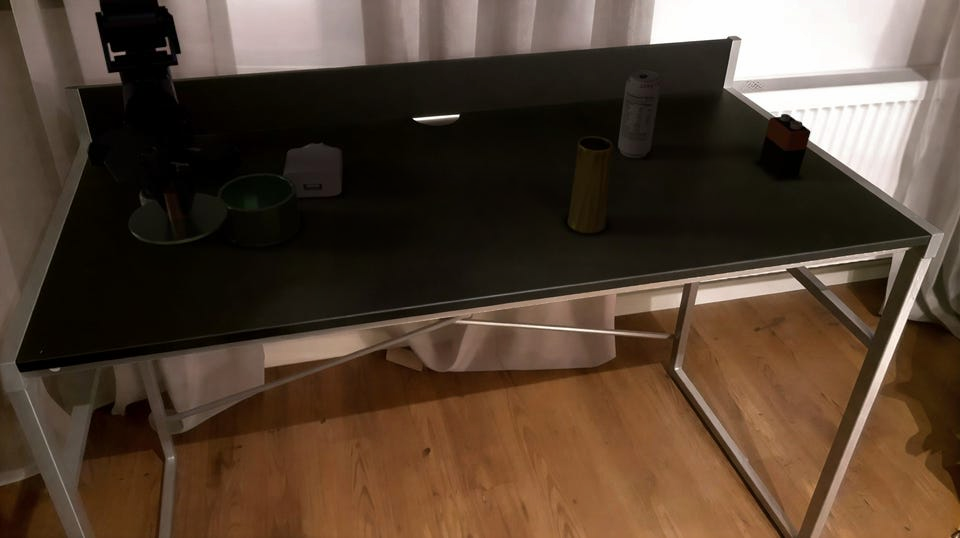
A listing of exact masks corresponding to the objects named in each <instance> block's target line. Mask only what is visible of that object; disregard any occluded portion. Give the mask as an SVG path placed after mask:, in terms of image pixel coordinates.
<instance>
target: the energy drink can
mask: <svg viewBox="0 0 960 538" xmlns="http://www.w3.org/2000/svg"><path fill="white" fill-rule="evenodd" d="M660 92H661V83H660V80H659V74H658V73H656V72H655V71H652V70H647V69H637V70H634V71H631V73H630V76H629V78H628V79H627V80H626V82H625V90H624V97H623V104H622V112H621V119H620V126H619V127H620V128H619V136H618V142H617V147H618V148H617V149H619V151H620V154H622V155H623V156H625V157H628V158H631V159H632V158H633V159H639V158H641V159H642V158H644V157H646V156H647V154H648V153H650V151H651V150H652V142H653V136H654V130H655V123H656V119H657V118H656V117H657V112H658V111H657V110H658V104H659V97H660Z"/></svg>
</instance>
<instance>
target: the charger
mask: <svg viewBox="0 0 960 538" xmlns="http://www.w3.org/2000/svg"><path fill="white" fill-rule="evenodd" d="M343 165H344V164H343V153H342V150H341V149H340V148H338V147H334V146H333V147H332V146H329V145H327V144H326V143H324V142H320V143H313V142H311V143H309V144H307V145H305V146H303V147H300V148H299V147H298V148H291V149H289V150H288V151H287V153H286V159H285V164H284V169H283V174H282V176H284V177H286V178H289V179H291V180H292V182H293V183H294V184H295V185H296V190H297V198H319V197H320V198H321V197H323V198H324V197H335V196H338V195H340V194H341V193H342V191H343V190H342V189H343V188H342V187H343V172H344V171H343V169H344V168H343Z"/></svg>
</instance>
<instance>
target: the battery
mask: <svg viewBox="0 0 960 538" xmlns="http://www.w3.org/2000/svg"><path fill="white" fill-rule="evenodd" d="M811 132H812V131H811V130H810V129H809V128H807V127H806V126H805V125H803V122H802V121H800V120H797V119H795V118H794V117H792V116H791V115H790V114H788V113H782V114H781V115H780V116H774V117H770V118H769V120H768V124H767V128H766V133H765V137H764V140H763V145H762V148H761V153H760V156H759V164H760V165H761V166H762V167H763V168H765V169H766V170H767V171H768V172H769V173H770V174H772V176H774V177H775V178H776V179H778V180H781V179H792V178H798V177H799V175H800V172H801V168H802V164H803V161H804V159H805V155H806V150H807V147H808V142H809V140H810V136H811Z"/></svg>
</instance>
